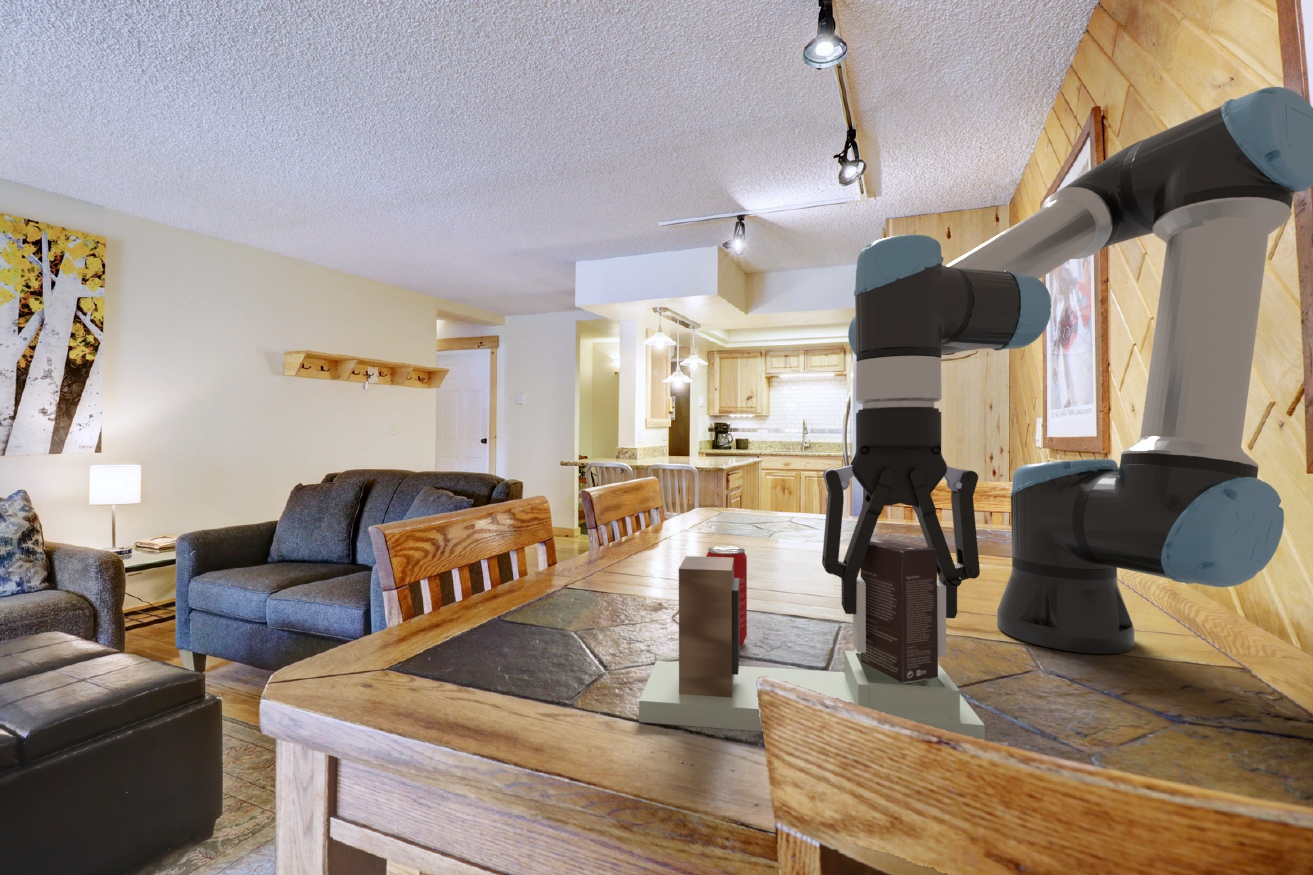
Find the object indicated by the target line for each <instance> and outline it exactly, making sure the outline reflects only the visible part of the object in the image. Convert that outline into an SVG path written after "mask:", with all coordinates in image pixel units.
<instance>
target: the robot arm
mask: <svg viewBox="0 0 1313 875" xmlns="http://www.w3.org/2000/svg"><path fill="white" fill-rule="evenodd" d="M1311 187H1313V106H1312V105H1311V104H1310V103H1309V102H1308V101H1307V99H1305V98H1304V97H1303V96H1302V95H1301V94H1299V93H1297V91H1294V90H1292V89H1291V88H1290V89H1289V88H1288V87H1287V88H1286V87H1283V86H1270V87H1269V86H1268V87H1264V88H1260V89H1257V90H1256V91H1253V92H1251V93H1248V94H1246V95H1244V96H1240V97H1239V98H1236V99H1235V98H1232V99H1228V100H1226V101H1225V102H1223V104H1222V105H1220V106H1218V107H1216V108H1214V109H1212V110H1210V111H1206V112H1204V113H1203V114H1200V115H1198V116H1197V115H1196V117H1192V118H1191V119H1189V120H1186V121H1183V122H1182V123H1179V124H1177V125H1175V126H1172V127H1169V128H1167V129H1165V130H1163V131H1161V132H1159V133H1156V134H1154V135H1150V136H1149V137H1148V138H1145V139H1142V140H1139V141H1136V142H1135V143H1132V144H1131V145H1129V146H1126V147H1124V148H1123V149H1121V150H1118V152H1116V153H1114V154H1113V155H1111V156H1109V157H1108V158H1106V159H1105V160H1103V161H1102V162H1100V163H1099V164H1097V165H1096V166H1094V167H1092V168H1091V169H1090V170H1088V171H1086V172H1085V173H1084V174H1082V175H1080V176H1078V178H1075V180H1073V181H1071V182H1070V183H1068V184H1067V185H1065V186H1064V187H1062V188H1061V189H1059V190H1057V191H1055V192H1054V193H1052V194H1051V195H1049V196H1048V198H1046V199H1045V201H1043V203H1042V204H1041V207H1040V209H1039V210H1038V211H1037V212H1034V213H1033V214H1031V215H1030V216H1028V217H1026V218H1025V219H1023V220H1021V221H1019V222H1018V223H1016V224H1014V225H1012V226H1011V227H1008V228H1007V229H1006V230H1004V231H1002V232H1001V233H999V234H997V235H996V236H993V237H992V238H990V239H988V240H987V241H986V242H984V243H982V244H980V245H979V246H977V247H975V248H973V249H972V250H970V251H968V252H966V253H965V254H963V255H962V256H960V257H958V258H956V259H955V260H953V261H952V262H949V263H948V264H946V265H943V263H944V257H943V256H942V246H941V243H940V241H938V240H937V239H935V238H933V237H931V236H930V235H925V234H903V235H902V234H900V235H893V236H889V237H884V238H881V239H878V240H875V241H873V242H872V243H869V244H868V245H866V246H865V247H863V249H862V250H860V252H859V254H858V256H857V260H856V261H857V262H856V269H855V284H854V285H855V286H854V291H853V295H854V298H855V299H854V300H855V309H854V310H855V315H854V316H853V318H852V319H851V322H850V324H849V327H848V330H847V332H848V334H847V336H848V338H847V339H848V343H849V346H850V348H851V350H852V352H853V354H854V355H855V356H856V359H855V360H856V362H855V364H856V366H855V367H856V368H855V369H856V373H855V374H856V375H855V376H856V377H855V380H856V382H855V388H856V390H855V402H857V403H858V404H861V405H862V408H861V409H858V410H857V412H856V413H855V453H854V454H855V455H854V456H853V459H852V460H851V462H850V464H849V465H847V466H842V467H838V468H834V469H833V468H826V469H825V470H824V471H823V473H822V476H823V479H824V483H825V488H826V490H827V499H826V501H827V502H826V513H825V524H824V535H823V545H822V546H823V548H822V559H821V565H822V566H823V568H824V570H825V572H826V573H827V574H828V575H829V574H830V575H834V576H836V577H839V578H840V580H841V606H842V608H843V611H844V613H845V615H852V643H853V646H854V648H855V650H857V652H861V653H866V583H865V582H864V580H863V579H862V578H861V576H859V574H860V572H861V565H862V563H863V560H864V557H865V554H866V551H867V548H868V546H869V543H870V541H871V539H872V537H873V534H874V531H875V528H876V526H877V523H878V520H879V518H880V516H881V514H882V512H883V510H884V506H895V505H898V504H901V505H904V506H905V505H906V506H911V507H912V508H913V511H914V513H915V514H916V517H917V520H918V523H919V525H920V528H921V531H922V534H923V537H924V539H925V543H926V545H927V546H926V547H932V548H936V549H937V577H938V578H937V619H938V624H937V625H938V658H939V657H940V658H947V619H956V618H957V615H958V587H959V586H961V585H962V582H963V581H966V580H968V579H974V580H975V579H977V578H978V577H979V576H980V574H981V570H980V569H981V568H980V558H979V548H978V537H977V535H978V534H977V526H976V516H975V515H976V514H975V504H974V494H975V491H976V488H977V484H978V480H979V474H978V473H977V472H976V471H974V470H968V469H959V468H956V467H951V466H948V464H947V462H946V461H945V459H944V457H943V453H942V411H940V409H939V408H937V407H935V403H937V402H940V401H941V400H942V358H943V357H942V356H943V355H950V354H955V353H956V354H957V353H960V352H961V353H962V352H968V351H973V350H983V349H992V350H993V351H1002V350H1008V349H1009V350H1010V349H1011V350H1013V349H1014V350H1015V349H1016V350H1017V349H1021V348H1025V347H1027V346H1029V345H1031V344H1032V343H1034V342H1035V341H1037V340H1038V339H1039V338H1040V337H1041V335H1042V334H1043V333H1044V331H1045V330H1046V328H1047V326H1048V324H1049V321H1050V319H1051V314H1052V310H1051V309H1052V298H1051V293H1050V291H1049V290H1048V288H1047V285H1045V284H1044V283H1043V281H1041V280H1040V279H1041V278H1043V277H1044V276H1046V275H1048V274H1049V273H1052V272H1053V271H1054V270H1056V269H1058V268H1059V267H1061V266H1062V265H1064V264H1065V263H1067V262H1069V261H1070V260H1079V259H1080V260H1081V259H1086V258H1088V257H1090V256H1093V255H1094V254H1096V253H1098V252H1099V251H1101V250H1103V249H1105V248H1107V247H1110V246H1112V245H1116V244H1119V243H1123V242H1126V241H1129V240H1133V239H1136V238H1141V237H1143V236H1148V235H1151V234H1154V236H1156V237H1157V238H1159V239H1160V240H1161V241H1163V242H1164V243H1165V244H1166V246H1165V252H1164V253H1165V255H1164V262H1163V267H1162V276H1161V283H1160V290H1159V291H1160V292H1159V298H1158V305H1157V313H1156V319H1155V327H1154V334H1153V341H1152V347H1151V356H1150V357H1151V358H1150V363H1149V371H1148V378H1147V384H1146V385H1147V386H1146V390H1145V391H1146V392H1145V399H1144V400H1145V401H1144V406H1143V407H1144V408H1143V413H1142V422H1141V428H1140V429H1141V430H1140V436H1139V439H1138V441H1137V442H1136V443H1134V444H1132V445H1131V446H1129V447H1128V448H1126V449H1125V450H1123V451H1121V454H1120V462H1119V466H1118V463H1117V461H1116V460H1114V459H1111V458H1108V459H1107V458H1097V459H1096V458H1095V459H1094V458H1093V459H1076V460H1075V459H1074V460H1063V461H1062V460H1059V461H1058V460H1057V461H1049V462H1048V461H1047V462H1037V463H1035V462H1034V463H1030V464H1029V463H1027V464H1023V465H1021V466H1019V467H1018V468H1016V469H1015V471H1014V473H1013V476H1012V485H1011V486H1012V487H1011V492H1010V514H1011V515H1010V516H1011V517H1010V518H1011V519H1010V521H1011V522H1010V523H1011V573H1010V576H1009V579H1008V581H1007V582H1006V586H1005V590H1004V591H1003V594H1002V596H1001V599H1000V602H999V603H998V604H999V605H998V608H997V613H996V614H997V616H996V617H997V618H996V620H997V623H996V625H997V628H998V629H999V630H1000V631H1001V632H1003V633H1004V634H1006V635H1008V636H1009V637H1012V638H1015V639H1018V640H1019V641H1023V642H1025V643H1029V644H1033V645H1037V646H1039V647H1040V646H1041V647H1044V648H1050V649H1054V650H1060V651H1067V652H1072V653H1082V654H1099V655H1102V654H1103V655H1106V654H1107V655H1110V654H1120V653H1125V652H1129V651H1131V650H1133V649H1134V648H1135V626H1134V625H1133V622H1132V619H1131V617H1130V613H1129V611H1128V608H1127V606H1126V604H1125V601H1124V598H1123V596H1122V592H1121V589H1120V587H1119V585H1118V573H1117V572H1118V569H1122V570H1127V571H1131V572H1136V573H1142V574H1145V575H1150V576H1156V577H1160V578H1164V579H1170V580H1171V581H1174V582H1177V583H1183V584H1197V585H1203V586H1209V587H1216V588H1229V587H1236V586H1238V585H1241V584H1244V583H1246V582H1248V581H1250V580H1252V579H1253V578H1255V577H1256V575H1257V574H1258V573H1259V572H1262V570H1264V569H1265V568H1266V566H1267V565H1268V564H1269V563H1270V561H1272V558H1273V557H1274V555H1275V553H1276V552H1277V549H1278V547H1279V544H1280V542H1281V539H1282V535H1283V531H1284V526H1285V524H1284V523H1285V511H1284V509H1283V507H1281V506H1280V505H1281V502H1282V500H1281V497H1280V495H1279V492H1278V491H1277V490H1276V489H1275V488H1274V487H1273V486H1272V485H1271V484H1270V483H1268V482H1266V481H1264V480H1261V479H1260V478H1258V474H1259V464H1258V463H1257V462H1256V461H1255V460H1254V459H1253V458H1252V457H1250V456H1249V455H1248V453H1246V452H1245V451H1244V449H1243V448H1242V444H1243V438H1244V430H1245V429H1244V427H1245V421H1246V413H1247V412H1246V411H1247V406H1248V405H1247V404H1248V400H1249V398H1248V397H1249V390H1250V383H1251V382H1250V381H1251V374H1252V365H1253V360H1254V352H1255V351H1254V350H1255V344H1256V337H1257V336H1256V335H1257V328H1258V320H1259V312H1260V305H1261V304H1260V303H1261V299H1262V298H1261V297H1262V296H1261V295H1262V289H1263V282H1264V273H1265V265H1266V260H1267V259H1266V258H1267V251H1268V250H1267V249H1268V243H1269V235H1271V234H1272V233H1274V232H1275V231H1276V230H1278V229H1279V228H1281V227H1282V226H1283V225H1285V224H1286V223H1287V222H1288V221H1289V220H1290V219H1291V215H1292V208H1293V201H1294V195H1295V193H1302V192H1305V191H1307V190H1309V189H1310V188H1311ZM853 477H854V478H855V479H856V481H857V482H858V483H859V485H860V486H861V487H862V488H863V490H864V491H865V492H866V494H865V496H864V498H863V501H862V505H861V510H860V513H859V516H858V518H857V521H856V524H855V526H854V529H853V530H854V531H853V532H852V536H851V539H850V541H849V544H848V546H847V550H846V552H845V556H844V559H843V561H841V560H840V559H839V558H840V547H841V545H840V544H841V537H842V536H841V534H842V526H843V525H842V524H843V513H844V498H845V497H844V491H845V490H847V489H849V487H850V480H851V478H853ZM942 479H945V480H946V487H947V488H948V489H949V490H950V491H951V495H950V502H951V503H950V504H951V513H952V524H953V533H954V544H955V554H956V555H955V556H956V558H955V559H956V563H954V560H953V557H952V554H951V552H950V549H949V546H948V544H947V541H946V540H947V539H946V538H945V535H944V532H943V529H942V527H941V522H940V521H939V518H938V515H937V508H936V505H935V503H934V500H933V498H932V492H933V491H934V490H935V489H936V488H937V486H938V484H940V482H941V481H942Z"/></svg>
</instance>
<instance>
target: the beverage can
mask: <svg viewBox="0 0 1313 875" xmlns="http://www.w3.org/2000/svg"><path fill="white" fill-rule="evenodd" d="M707 551H708V552H706V555H705V557H730V558H734V578H740V647H742V646H743V645H744V644H745V640H746V637H747V636H748V600H747V599H748V598H747V597H748V595H747V594H748V593H747V592H748V586H747V585H748V583H747V582H748V574H747V572H748V567H747V566H748V564H747V563H748V562H747V561H748V556H747V555H746V552H745V551H746V550H745V548H742V547H739V546H732V545H731V546H729V545H720V546H718V545H717V546H712V547H709V548H708V549H707Z"/></svg>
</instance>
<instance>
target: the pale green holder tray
mask: <svg viewBox="0 0 1313 875" xmlns="http://www.w3.org/2000/svg"><path fill="white" fill-rule="evenodd" d="M843 657H844V671H834V670H833V671H830V670H814V669H813V670H812V669H799V668H798V669H797V668H783V667H782V668H780V667H779V668H778V667H767V666H766V667H761V666H749V665H747V666H746V665H739V671H738V675H734V678H733V689H732V698H729V697H715V696H700V695H685V694H679V661H678V662H677V661H663V660H656V662H655V664H654V665H653V668H652V671H651V673H650V674H649V677H648V680H647V682H646V684H645V687H644V688H643V691H642V693H641V695H640V697H639V700H638V722H639V723H647V724H648V723H649V724H660V725H661V724H662V725H673V726H674V725H676V726H687V727H700V728H712V729H713V728H714V729H715V728H716V729H728V730H737V731H739V730H740V731H750V732H751V731H752V732H763V731H762V726H761V723H760V717H759V708H758V697H757V686H756V680H757V678H758V677H759V676H768V677H771V678H775V679H779V680H781V681H787V682H789V683H792V684H793V685H799V686H800V687H804V688H806V689H810V690H813V691H816V692H817V693H822V694H824V695H826V696H830V697H833V698H839V699H841V700H843V701H846V702H852V703H854V704H856V705H860V706H864V707H869V708H871V709H873V710H879V711H882V712H885V713H886V714H890V715H894V716H899V717H901V718H904V719H909V720H913V721H915V722H917V723H923V724H925V725H929V726H933V727H935V728H941V729H945V730H946V731H949V732H957V733H959V734H963V735H967V736H973V737H976V738H980V739H983V740H985V738H986V736H985V734H986V732H985V730H986V726H985V724H984V722H983V721H982V720H981V718H980V717H979V715H978V714H977V713H976V712H975V711H974V709H973V708H972V706H970V704H969V703H968V702H967V701H966V699H965V698H964V696H963V695H962V694H961V690H960V689H959V687H958V686H957V685H956V684H955V683H954V681H953V680H952V679H951V678H950V676H949V675H948V674H947V672H945V670H944V668H943V667H942V666H941V665H940V664H939V663H938V677H936V678H933V679H929V680H926V681H921V682H916V683H911V684H903V683H901V682H899V681H898V680H896V679H894V678H892V677H890V676H888V675H886V674H884V673H882V672H880V671H878V670H876V669H874V668H872V667H870V666H868V665H866V664H864V663H862V662H861V652H857V650H856V649H853V650H844V656H843ZM985 741H986V740H985Z"/></svg>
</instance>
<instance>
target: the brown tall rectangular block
mask: <svg viewBox="0 0 1313 875" xmlns="http://www.w3.org/2000/svg"><path fill="white" fill-rule="evenodd" d="M740 647H741V646H740V578H734V558H730V557H706V556H693V555H691V556H689V555H687V556H685V557H684V559H683V560H682V561H681V564H680V566H679V567H678V662H679V694H685V695H700V696H715V697H729V698H732V689H733V678H734V675H738V671H739V666H740V655H741V653H740V651H741V650H740V649H741V648H740Z"/></svg>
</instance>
